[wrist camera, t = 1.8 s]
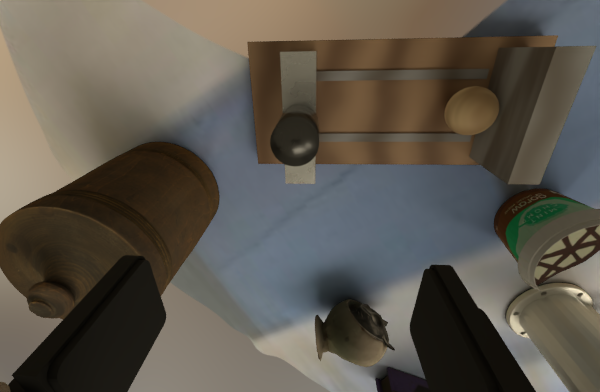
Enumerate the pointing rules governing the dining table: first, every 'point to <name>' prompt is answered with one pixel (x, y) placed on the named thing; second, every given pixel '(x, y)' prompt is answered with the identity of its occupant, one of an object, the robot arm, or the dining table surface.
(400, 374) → the book
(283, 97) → the sliding jaw
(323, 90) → the base
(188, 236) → the wooden container
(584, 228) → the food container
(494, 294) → the dining table surface
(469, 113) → the walnut
